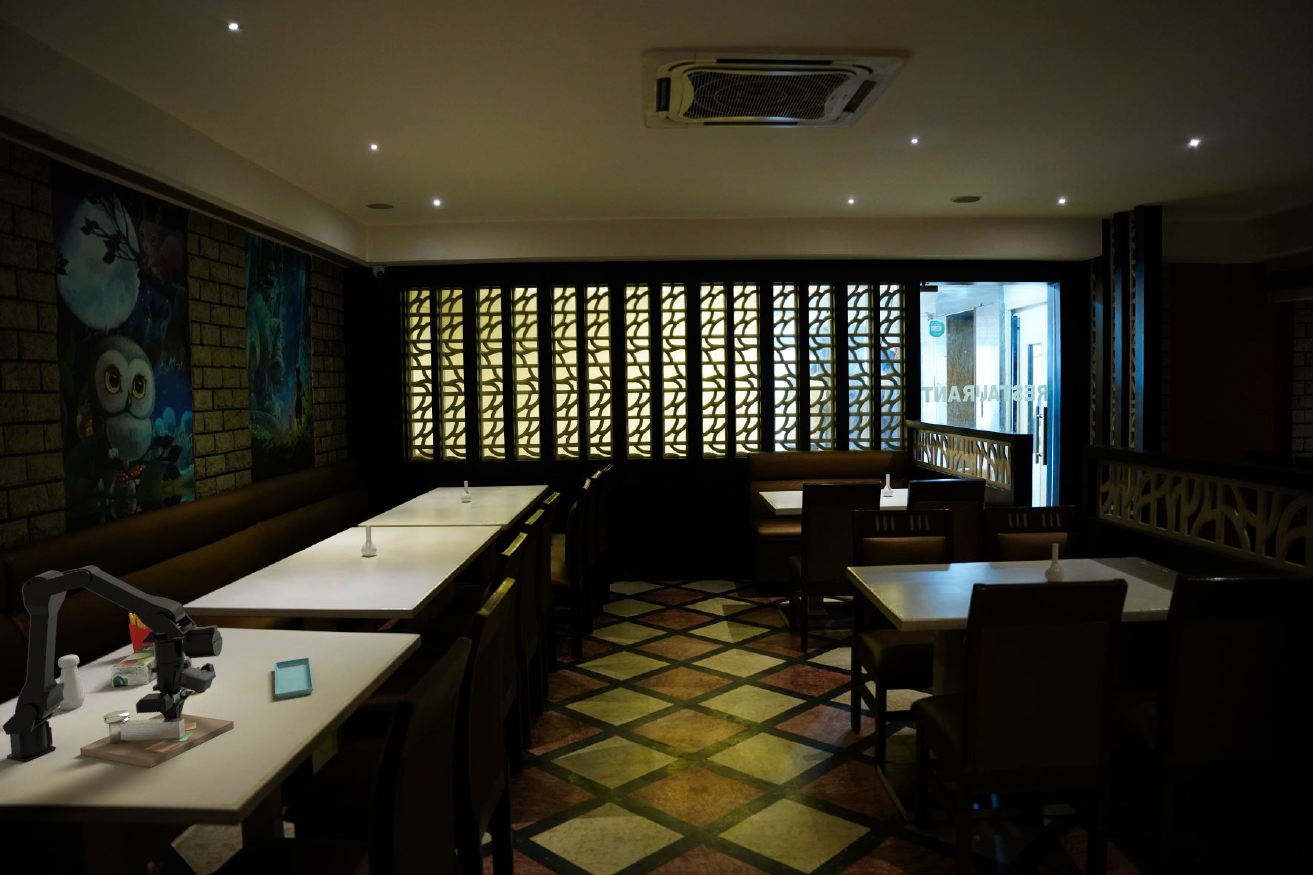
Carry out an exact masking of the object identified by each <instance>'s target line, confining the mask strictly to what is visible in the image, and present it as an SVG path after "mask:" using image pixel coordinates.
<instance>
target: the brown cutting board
mask: <svg viewBox="0 0 1313 875" xmlns="http://www.w3.org/2000/svg"><path fill="white" fill-rule="evenodd" d="M181 718H184V727H185V735H183V736H182V737H181V738H165V739H135V740H124V741H122V742H118V743H110V737H109V735H108V736H105V737H103V738H101V739H100V738H99V739H97V740H96V741H94V742H91V743H88V744H86V745H84V746H81V747H80V748H79V749H80V751H79V752H80V755H81V756H86V757H91V758H97V759H103V760H108V761H114V762H119V763H124V764H130V765H134V766H142V767H147V768H153V767H155V766H157V765H160V764H161V763H164V762H166V761H168V760H170V759H172V758H174V757H176V756H178V755H180V754H182V753H184V752H186V751H188V750H191V749H193V748H196V747H197V746H200V745H201V744H203V743H205V742H208V741H210V740H212V739H213V738H216V737H218V736H219V735H222V734H224V733H226V732H228V731H230V730H233V729H234V728H235V726H234V725H235V724H234V721H231V720H227V719H226V720H225V719H218V718H213V717H207V716H198V715H192V714H185V713H181ZM149 719H165V717H164V716H163V715H162V713H160V714H157V715H155V716H153V717H150V718H148V719H147V720H149Z"/></svg>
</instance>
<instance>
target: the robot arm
mask: <svg viewBox="0 0 1313 875" xmlns="http://www.w3.org/2000/svg"><path fill="white" fill-rule="evenodd" d="M78 588H79V589H80V588H85V589H86V590H88V591H89V592H92V593H94V594H95V595H98V596H99V597H102V598H103V599H106V600H107V601H110V602H112V603H113V604H116V605H117V606H119V607H120V608H121V607H122V608H124V609H126V610H127V611H129V612H131V613H132V614H133V615H134V614H135V615H136V616H137V617H138V619H139V620H140V621H141V622H142V623H143V624H144V625H146V626H147V627H148V628H150V629H151V630H152V631H150V633H149V634H148V636H147V637H146V638H145V639H144V640H143V641H142V642H143V643H154V655H155V666H154V667H153V668H151V672H152V673H156V679H155V680H156V684H154V685H153V686H152V692H153V693H152V692H151V693H147V694H146V695H145V696H143V697H142V698H140V699H139V700H138V701H137V702H136V703H135V710H136V713H137V714H151V713H152V714H153V713H160V714H162V715H163V716H164V717H165V719H179V718H181V714H183V708H184V707H185V706H184V704H185V702H186V701H187V700H188V698H189V697H190V696H191V695H193V693H194V692H195V693H197V694H203V693H205V692H206V691H207V690H208V689H210V688H211V686H212V684H213V680H214V679H215V678H216V677H217V676H216V671H215V667H214V664H213V663H210V662H206V663H205V664H203V665H202V666H201V667H200V666H197V667H192V666H191V661H190V660H189V659H198V658H201V659H202V658H212V657H219V656H220V654H221V653H222V649H223V637H222V634H221V633H220V631H219V629H218V625H217V624H215V625H213V624H212V625H208V626H199V627H197V626H198V625H197V624H196V623H195V621H194V620H193V619H192V618H191V617H190V616H189V615H188V614H187V613H186V611H185V606H184V605H183V604H182V603H180V602H179V601H176V600H173V599H171V598H167V597H164V596H163V597H162V596H157V595H152V594H149V593H146V592H143V590H141V589H138V588H136V587H135V586H133V585H130V584H128V583H126V582H125V581H123V580H121V579H119V578H116V577H115V576H113V575H110V574H109V573H107V572H105V571H103V570H102V569H100V568H99V566H96V565H87V566H83V567H81V568H75V569H70V570H67V571H66V570H65V571H63V572H61V571H59V570H48V571H45V572H43V573H41V574H40V573H39V574H38V575H35V576H33V577H30V578H28V579H27V580H26V581H25V582H24V583H23V584H22V588H21V589H22V590H21V591H22V598H23V605H24V607H25V609H26V610H27V612H28V614H29V618H30V620H29V634H28V648H27V649H28V651H27V652H28V653H27V666H26V668H27V669H26V680H25V683H24V685H23V687H22V689H21V691H20V692H19V695H18V698H17V702H16V705H15V709H14V714H13V715H12V716H11V717H10V718H9V719H8V720H6V722H5V723H4V724H2V729H3V731H4V732H5V734H6V736H8V735H9V740H10V752H11V753H8V754H7V755H6V758H7V759H11V760H17V761H22V762H28V761H29V762H30V761H31V760H33V759H36V758H38V757H41V756H42V755H45V754H48V753H51V752H53V751H55V750H57V746H54V745H53V730H52V727H51V726H50V721H49V720H50V719H51V718H53V715H54V712H55V711H56V710H57V709H59V707H60V706H59V705H60V702H61V701H63V700H64V697H63V689H64V683H60V682H57V680H56V678H55V677H54V670H55V655H56V653H55V652H56V639H57V637H56V636H57V625H58V624H57V622H58V613H59V610H60V608H61V606H62V604H63V602H64V600H65V598H66V595H67V592H68V591H71V590H75V589H78ZM186 657H188V658H189V659H186ZM154 692H155V693H154Z"/></svg>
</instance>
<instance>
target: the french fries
mask: <svg viewBox="0 0 1313 875" xmlns="http://www.w3.org/2000/svg"><path fill="white" fill-rule="evenodd" d="M128 616H129V620H130V623H129V624H128V627H129V628H128V629H129V634H130V638H131V639H130V640H131V643H132V644H131V645H132V650H133V653H134V652H135V651H137V650H139V649H140V648H142V647H143V646H144V645H154V643H143V642H142V641H143V640H144V639H145V638H146V637H147V636H148V634H149V633H150V631H152V630H151V629H150V628H148V627H147V626H146V625H144V624H143V623H142V622H141V621H140V620H139V619H138V617H137V616H136V615H135V614H134V613H132V612H131V613H129V614H128Z"/></svg>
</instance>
